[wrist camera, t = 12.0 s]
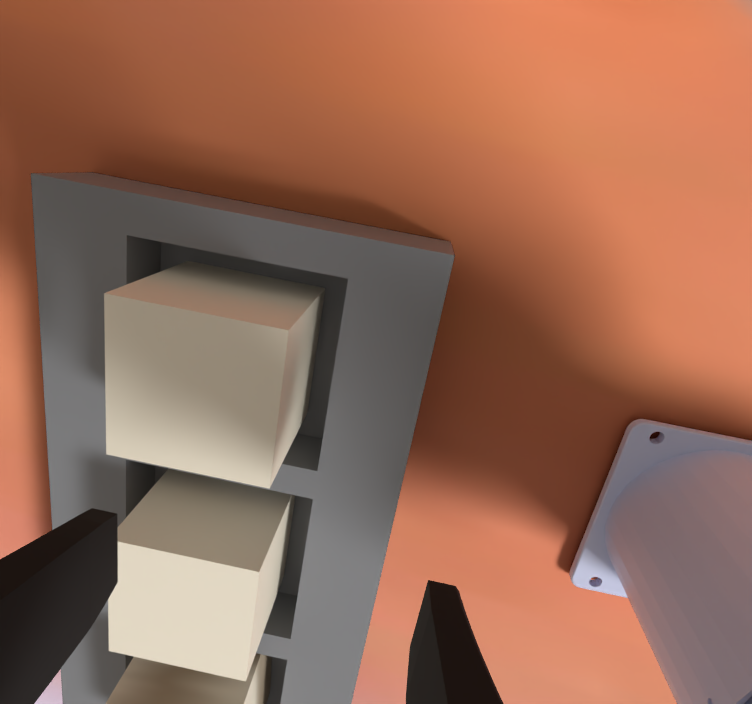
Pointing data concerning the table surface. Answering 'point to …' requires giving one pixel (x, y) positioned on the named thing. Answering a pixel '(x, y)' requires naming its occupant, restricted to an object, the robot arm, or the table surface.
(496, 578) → the table surface
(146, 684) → the loose block
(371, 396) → the puzzle board
